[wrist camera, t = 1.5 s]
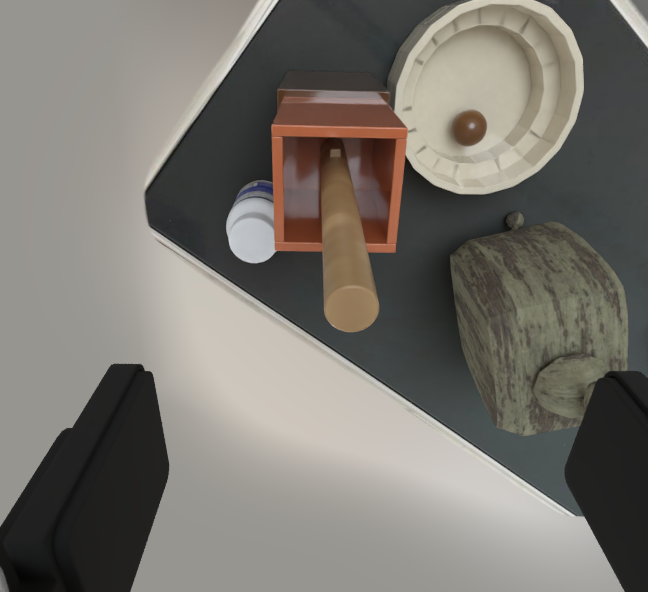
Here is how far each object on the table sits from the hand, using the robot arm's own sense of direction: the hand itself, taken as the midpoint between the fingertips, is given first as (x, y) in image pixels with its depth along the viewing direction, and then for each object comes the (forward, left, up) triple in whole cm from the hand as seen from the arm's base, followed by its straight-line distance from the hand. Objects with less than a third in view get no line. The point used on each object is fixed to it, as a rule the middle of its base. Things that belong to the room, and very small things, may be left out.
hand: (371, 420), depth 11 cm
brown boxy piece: (0, 0, -38) cm, 38 cm away
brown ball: (0, +12, -36) cm, 38 cm away
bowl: (-2, +12, -38) cm, 40 cm away
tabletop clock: (+15, +17, -38) cm, 44 cm away
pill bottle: (+8, -6, -38) cm, 39 cm away
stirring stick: (0, 0, -24) cm, 24 cm away
